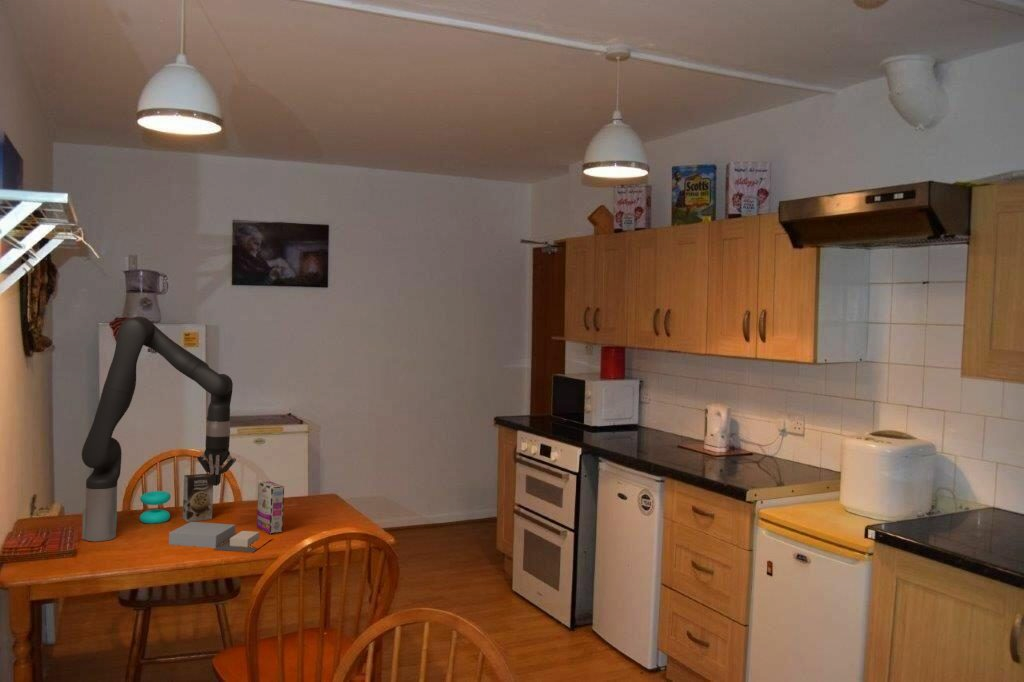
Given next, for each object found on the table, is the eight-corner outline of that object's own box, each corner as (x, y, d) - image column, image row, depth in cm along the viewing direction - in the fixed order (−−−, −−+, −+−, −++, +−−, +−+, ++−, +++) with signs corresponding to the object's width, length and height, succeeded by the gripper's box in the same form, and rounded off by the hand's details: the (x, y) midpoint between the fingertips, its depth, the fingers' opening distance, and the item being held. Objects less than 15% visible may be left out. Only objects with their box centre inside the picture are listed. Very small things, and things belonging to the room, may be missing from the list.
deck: (168, 544, 258) (169, 532, 258) (190, 533, 272) (190, 521, 272) (215, 548, 256) (215, 535, 256) (235, 536, 270) (235, 524, 270)
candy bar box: (283, 532, 277) (285, 486, 276) (270, 535, 274) (271, 487, 273) (269, 525, 285) (270, 480, 285) (256, 527, 282) (257, 482, 281)
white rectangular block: (247, 539, 258) (247, 547, 258) (259, 532, 267) (259, 539, 267) (230, 538, 258) (229, 545, 259) (242, 530, 267) (241, 538, 267)
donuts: (166, 496, 282) (136, 496, 280) (165, 524, 282) (136, 524, 280) (173, 490, 291) (145, 490, 290) (173, 517, 292) (144, 517, 290)
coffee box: (186, 522, 285) (187, 478, 285) (182, 518, 291) (183, 474, 290) (212, 519, 291) (213, 475, 290) (207, 515, 296) (209, 472, 295)
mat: (214, 550, 254) (214, 549, 254) (236, 536, 270) (236, 535, 270) (252, 552, 253) (253, 551, 253) (273, 539, 269) (273, 538, 269)
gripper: (193, 434, 262) (191, 485, 263) (231, 437, 261) (229, 489, 261) (204, 430, 270) (202, 481, 270) (241, 433, 268) (239, 484, 269)
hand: (215, 485), depth 266 cm, fingers closed
